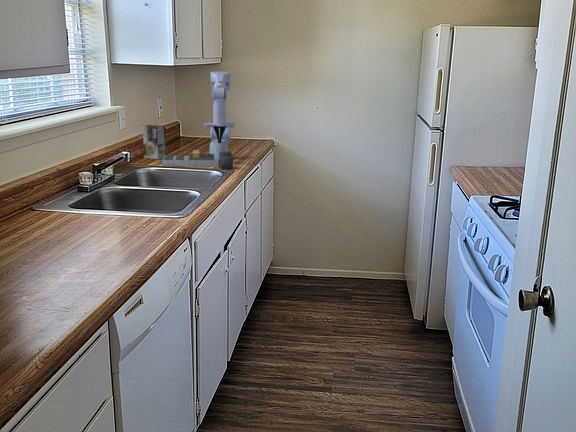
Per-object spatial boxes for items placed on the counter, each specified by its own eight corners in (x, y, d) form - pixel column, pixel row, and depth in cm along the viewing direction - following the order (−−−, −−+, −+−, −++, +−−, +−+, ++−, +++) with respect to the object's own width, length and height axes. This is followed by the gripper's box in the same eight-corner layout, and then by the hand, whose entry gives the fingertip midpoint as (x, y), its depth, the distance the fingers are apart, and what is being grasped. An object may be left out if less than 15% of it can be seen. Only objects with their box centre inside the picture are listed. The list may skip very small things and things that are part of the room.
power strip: (218, 161, 285) (218, 149, 283) (218, 166, 272) (218, 153, 271) (164, 161, 281) (163, 149, 279) (162, 166, 269) (161, 153, 267)
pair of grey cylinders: (231, 161, 286) (231, 151, 285) (233, 169, 266) (233, 158, 265) (219, 161, 286) (219, 151, 284) (220, 169, 265) (220, 158, 264)
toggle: (199, 158, 275) (199, 151, 275) (199, 159, 272) (199, 153, 271) (192, 158, 275) (192, 151, 274) (192, 159, 271) (192, 153, 270)
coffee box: (166, 157, 293) (165, 125, 289) (158, 159, 287) (157, 126, 283) (151, 156, 296) (150, 124, 292) (143, 157, 291) (142, 125, 287)
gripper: (203, 114, 267) (204, 143, 270) (235, 114, 269) (235, 144, 272) (203, 112, 274) (204, 141, 277) (234, 113, 276) (234, 142, 279)
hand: (219, 142), depth 275 cm, fingers closed
